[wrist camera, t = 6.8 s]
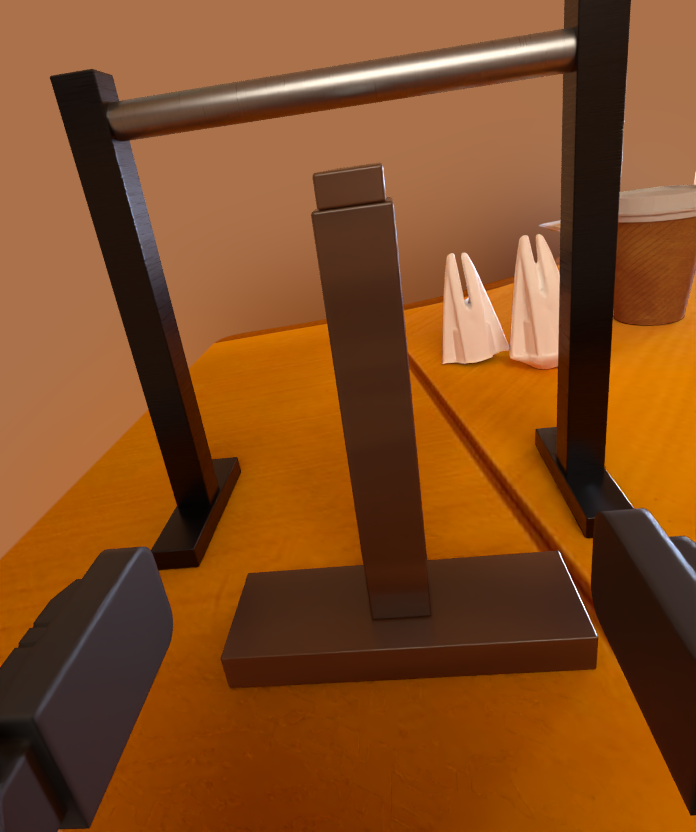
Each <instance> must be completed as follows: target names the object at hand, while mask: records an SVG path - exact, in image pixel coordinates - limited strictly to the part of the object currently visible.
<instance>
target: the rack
mask: <svg viewBox="0 0 696 832" xmlns="http://www.w3.org/2000/svg"><path fill="white" fill-rule="evenodd" d="M630 4H631V0H565V7H564V29H561V30H554V31H548V32H542V33H536V34H529V35H523V36H517V37H511V38H505V39H498V40H492V41H486V42H480V43H474V44H468V45H461V46H456V47H449V48H443V49H437V50H431V51H424V52H419V53H412V54H406V55H400V56H394V57H388V58H382V59H375V60H369V61H363V62H357V63H350V64H344V65H338V66H332V67H326V68H320V69H313V70H307V71H301V72H295V73H289V74H282V75H276V76H270V77H264V78H258V79H252V80H246V81H239V82H233V83H227V84H221V85H215V86H209V87H202V88H196V89H190V90H184V91H178V92H171V93H165V94H159V95H153V96H147V97H141V98H134V99H129V100H122V101H119V99H118V95H117V92H116V87H115V83H114V79H113V76H112V75H110V74H106V73H103V72H100V71H97V70H94V69H89V70H83V71H77V72H71V73H65V74H59V75H53V76H50V80H51V83H52V86H53V90H54V93H55V96H56V99H57V103H58V106H59V110H60V113H61V116H62V120H63V123H64V127H65V130H66V133H67V136H68V140H69V143H70V147H71V150H72V153H73V157H74V160H75V163H76V167H77V170H78V173H79V177H80V180H81V184H82V187H83V190H84V194H85V197H86V201H87V204H88V207H89V211H90V214H91V217H92V221H93V224H94V227H95V231H96V234H97V238H98V241H99V244H100V248H101V251H102V254H103V258H104V261H105V264H106V268H107V271H108V274H109V278H110V281H111V285H112V288H113V291H114V295H115V298H116V301H117V305H118V308H119V311H120V315H121V318H122V321H123V325H124V328H125V331H126V335H127V338H128V342H129V345H130V348H131V351H132V355H133V359H134V361H135V365H136V368H137V372H138V375H139V379H140V382H141V385H142V389H143V392H144V396H145V399H146V402H147V406H148V409H149V412H150V416H151V419H152V422H153V426H154V429H155V432H156V436H157V439H158V443H159V446H160V449H161V453H162V456H163V459H164V463H165V466H166V469H167V473H168V476H169V480H170V483H171V486H172V490H173V493H174V496H175V500H176V503H177V507H176V509H175V510H174V512H173V514H172V515H171V517H170V519H169V520H168V522H167V524H166V526H165V527H164V529H163V531H162V532H161V534H160V536H159V538H158V539H157V541H156V543H155V544H154V546H153V548H152V549H151V552H152V554H153V556H154V559H155V562H156V565H157V568H158V570H163V569H176V568H190V567H198V566H199V565H200V563H201V560H202V558H203V556H204V554H205V551H206V549H207V547H208V545H209V542H210V540H211V538H212V536H213V533H214V531H215V529H216V527H217V524H218V522H219V520H220V518H221V515H222V513H223V511H224V509H225V506H226V504H227V502H228V500H229V498H230V495H231V493H232V491H233V489H234V486H235V484H236V482H237V480H238V477H239V475H240V473H241V470H240V466H239V461H238V458H237V457H233V458H222V459H212V458H211V454H210V450H209V447H208V443H207V439H206V435H205V431H204V427H203V423H202V420H201V416H200V412H199V408H198V404H197V400H196V396H195V392H194V389H193V385H192V381H191V377H190V373H189V369H188V366H187V362H186V358H185V354H184V351H183V347H182V342H181V338H180V335H179V331H178V327H177V323H176V319H175V315H174V312H173V307H172V304H171V300H170V296H169V292H168V288H167V284H166V280H165V277H164V273H163V269H162V265H161V261H160V257H159V254H158V250H157V246H156V242H155V238H154V234H153V230H152V227H151V223H150V219H149V215H148V211H147V207H146V203H145V199H144V196H143V192H142V188H141V184H140V181H139V176H138V172H137V169H136V164H135V161H134V157H133V153H132V149H131V145H130V140H136V139H143V138H149V137H155V136H162V135H169V134H175V133H181V132H188V131H194V130H201V129H207V128H214V127H220V126H227V125H233V124H239V123H246V122H253V121H259V120H265V119H272V118H278V117H285V116H292V115H298V114H304V113H311V112H317V111H324V110H330V109H336V108H343V107H350V106H356V105H363V104H369V103H376V102H382V101H389V100H395V99H402V98H408V97H415V96H421V95H427V94H434V93H440V92H447V91H453V90H459V89H465V88H473V87H479V86H486V85H492V84H498V83H504V82H512V81H518V80H525V79H531V78H537V77H544V76H550V75H557V74H563V117H562V174H561V228H560V283H559V339H558V394H557V427H551V428H541V429H536V433H535V445H536V447H537V448H538V450H539V452H540V454H541V456H542V458H543V459H544V461H545V463H546V465H547V467H548V469H549V471H550V472H551V474H552V476H553V478H554V480H555V482H556V483H557V485H558V487H559V489H560V491H561V493H562V494H563V496H564V498H565V500H566V502H567V504H568V505H569V507H570V509H571V511H572V513H573V515H574V517H575V518H576V520H577V522H578V524H579V526H580V528H581V529H582V531H583V533H584V535H585V537H586V538H593V532H594V519H595V516H596V514H597V513H598V512H603V511H615V510H628V509H634V508H633V506H632V505H631V504H630V502H629V501H628V500H627V498H626V497H625V495H624V494H623V493H622V491H621V490H620V489H619V487H618V486H617V484H616V483H615V482H614V480H613V479H612V478H611V476H610V475H609V473H608V472H607V471H606V469H605V468H604V463H605V445H606V427H607V410H608V392H609V375H610V357H611V340H612V322H613V304H614V287H615V269H616V252H617V234H618V216H619V199H620V180H621V164H622V145H623V128H624V127H623V126H624V109H625V93H626V76H627V58H628V57H627V56H628V41H629V40H628V39H629V23H630V6H631V5H630Z"/></svg>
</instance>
